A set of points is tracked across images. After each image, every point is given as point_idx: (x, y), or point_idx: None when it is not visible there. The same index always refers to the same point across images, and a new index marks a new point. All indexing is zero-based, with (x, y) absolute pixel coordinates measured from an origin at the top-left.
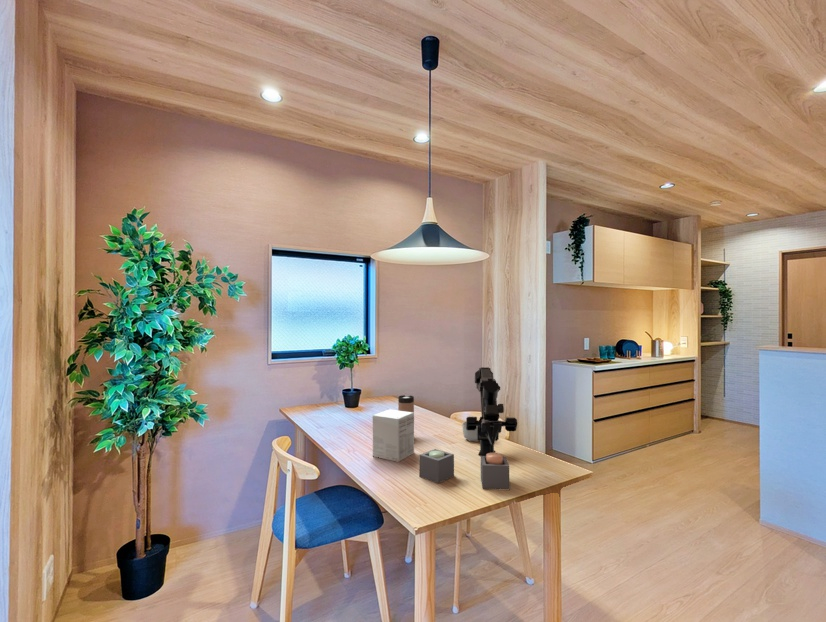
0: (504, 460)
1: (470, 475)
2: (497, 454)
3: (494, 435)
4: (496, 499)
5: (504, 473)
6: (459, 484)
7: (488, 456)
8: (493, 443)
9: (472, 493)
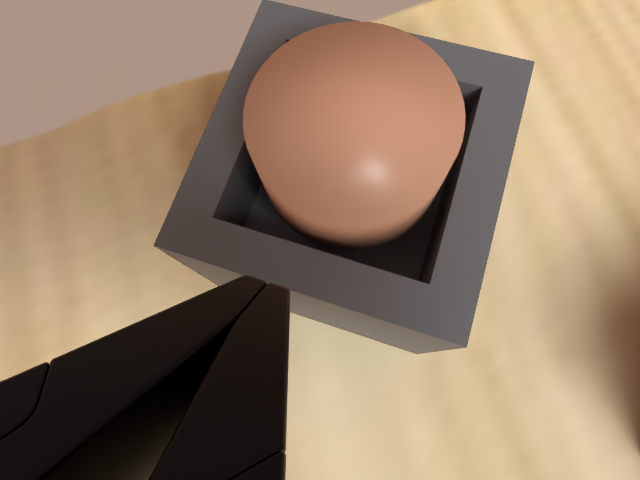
0: (231, 142)
1: (485, 443)
2: (297, 133)
3: (112, 363)
4: (426, 29)
5: None
6: (621, 280)
7: (452, 84)
8: (255, 278)
9: (554, 123)
